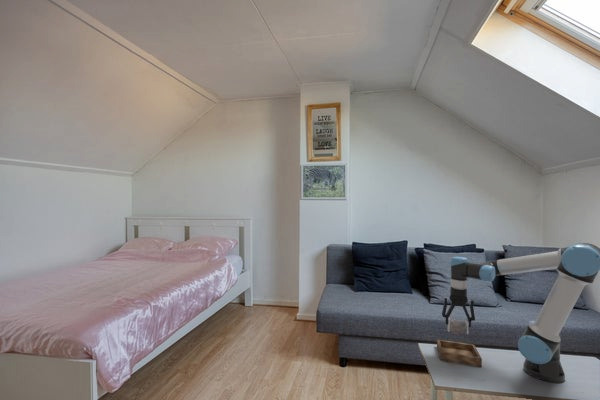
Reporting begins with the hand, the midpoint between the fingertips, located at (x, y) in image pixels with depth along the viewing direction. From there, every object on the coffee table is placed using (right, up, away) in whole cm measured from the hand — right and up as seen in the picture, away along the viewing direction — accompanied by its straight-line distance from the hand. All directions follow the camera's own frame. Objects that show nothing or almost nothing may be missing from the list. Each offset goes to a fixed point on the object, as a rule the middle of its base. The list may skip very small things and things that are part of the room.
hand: (457, 332), depth 161 cm
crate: (0, -12, 0) cm, 12 cm away
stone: (0, 0, +1) cm, 1 cm away
